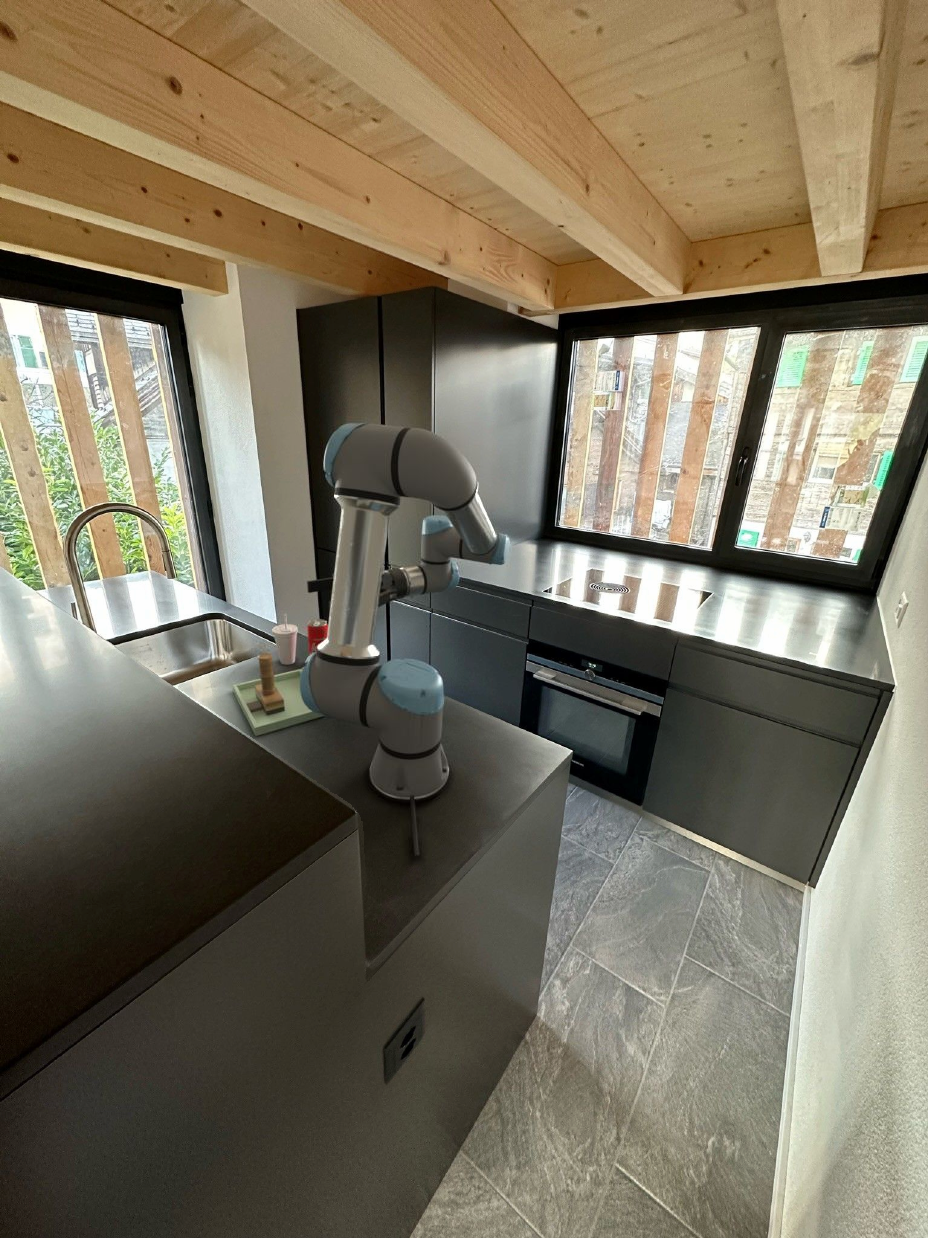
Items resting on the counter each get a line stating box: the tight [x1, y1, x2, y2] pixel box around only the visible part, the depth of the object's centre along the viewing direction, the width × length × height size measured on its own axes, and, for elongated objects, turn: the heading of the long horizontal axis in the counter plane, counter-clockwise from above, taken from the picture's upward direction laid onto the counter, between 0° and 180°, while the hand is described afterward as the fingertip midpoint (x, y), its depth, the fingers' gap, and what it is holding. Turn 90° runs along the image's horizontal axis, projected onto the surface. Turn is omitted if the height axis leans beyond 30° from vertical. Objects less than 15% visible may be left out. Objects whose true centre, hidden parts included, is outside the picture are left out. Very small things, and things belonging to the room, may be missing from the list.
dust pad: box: [247, 700, 263, 712], centre depth 116 cm, size 3×3×1 cm
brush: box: [255, 652, 285, 716], centre depth 116 cm, size 9×4×12 cm, turn 35°
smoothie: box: [271, 613, 299, 666], centre depth 135 cm, size 6×6×14 cm
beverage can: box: [306, 618, 329, 657], centre depth 136 cm, size 5×5×12 cm
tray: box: [232, 668, 324, 737], centre depth 120 cm, size 20×17×2 cm
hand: (318, 596), depth 116 cm, fingers open, 13 cm apart
